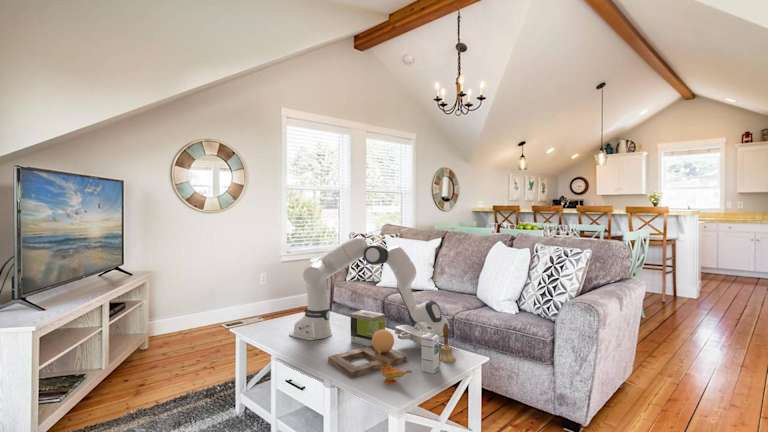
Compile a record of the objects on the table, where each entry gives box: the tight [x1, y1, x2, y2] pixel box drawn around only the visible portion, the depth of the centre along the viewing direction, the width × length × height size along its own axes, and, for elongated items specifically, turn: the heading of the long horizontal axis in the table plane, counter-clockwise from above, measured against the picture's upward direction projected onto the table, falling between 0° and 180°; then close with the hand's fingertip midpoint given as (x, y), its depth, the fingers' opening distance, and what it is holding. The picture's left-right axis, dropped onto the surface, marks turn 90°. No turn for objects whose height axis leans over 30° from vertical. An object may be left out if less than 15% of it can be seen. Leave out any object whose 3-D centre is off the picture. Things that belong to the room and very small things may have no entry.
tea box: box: [350, 309, 386, 347], centre depth 197 cm, size 15×10×15 cm
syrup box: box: [421, 333, 441, 374], centre depth 164 cm, size 6×6×14 cm
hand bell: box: [440, 323, 457, 363], centre depth 176 cm, size 8×8×16 cm
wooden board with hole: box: [327, 345, 408, 379], centre depth 173 cm, size 28×20×2 cm
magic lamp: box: [377, 349, 413, 385], centre depth 153 cm, size 7×18×11 cm, turn 48°
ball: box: [372, 329, 395, 353], centre depth 178 cm, size 10×10×10 cm
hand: (399, 337), depth 183 cm, fingers closed
